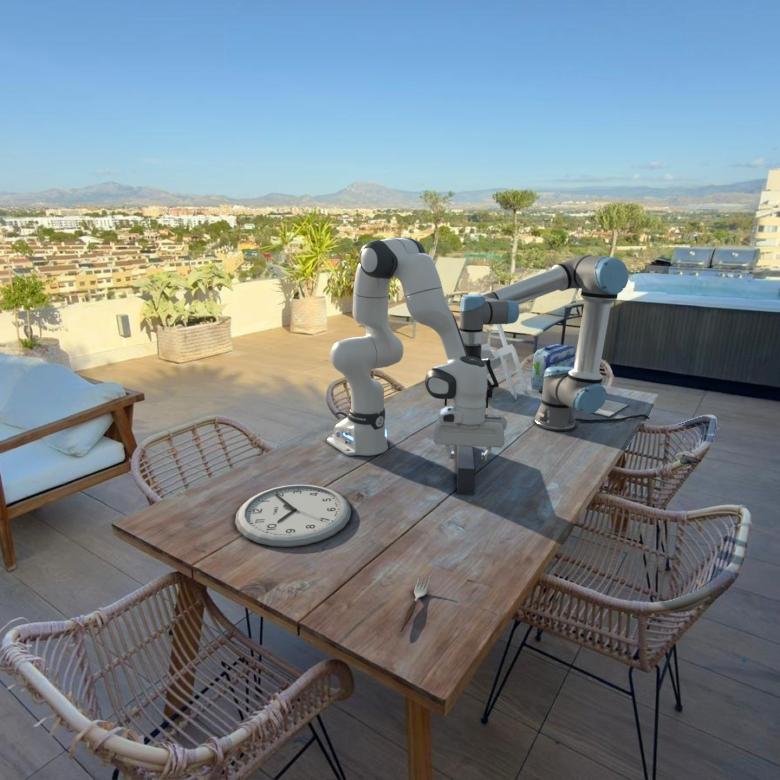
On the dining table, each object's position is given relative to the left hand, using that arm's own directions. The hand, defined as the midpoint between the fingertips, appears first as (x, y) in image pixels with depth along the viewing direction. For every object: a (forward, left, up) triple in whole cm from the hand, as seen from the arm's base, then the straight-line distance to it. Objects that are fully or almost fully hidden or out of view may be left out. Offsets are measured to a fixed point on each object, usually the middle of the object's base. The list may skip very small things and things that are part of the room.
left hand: (467, 459), depth 152 cm
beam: (-8, +11, -9) cm, 16 cm away
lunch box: (-28, +111, -9) cm, 115 cm away
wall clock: (-24, -45, -9) cm, 51 cm away
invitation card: (0, +102, -9) cm, 102 cm away
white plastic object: (-49, +81, -9) cm, 95 cm away
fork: (+22, -50, -9) cm, 55 cm away
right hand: (-16, +21, +7) cm, 27 cm away
